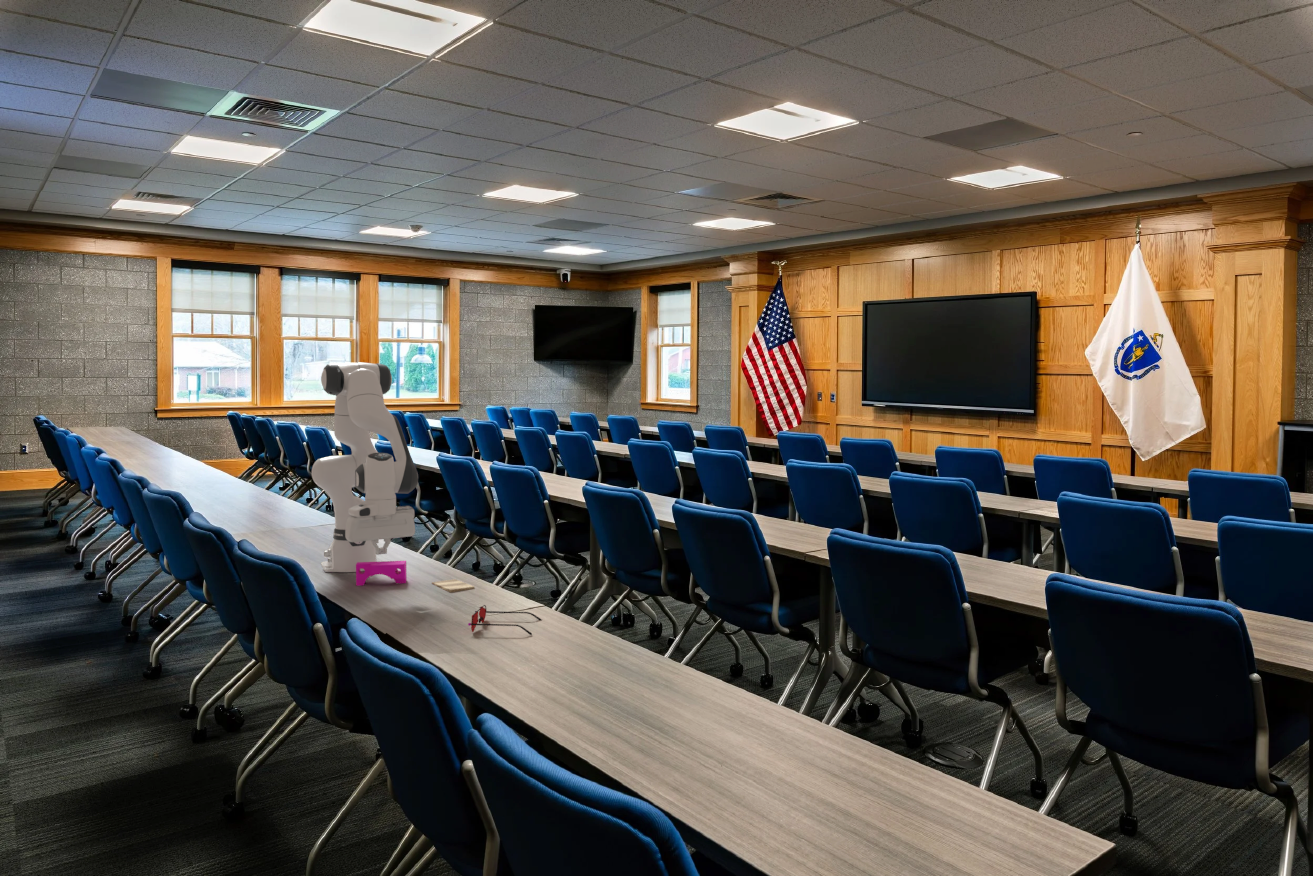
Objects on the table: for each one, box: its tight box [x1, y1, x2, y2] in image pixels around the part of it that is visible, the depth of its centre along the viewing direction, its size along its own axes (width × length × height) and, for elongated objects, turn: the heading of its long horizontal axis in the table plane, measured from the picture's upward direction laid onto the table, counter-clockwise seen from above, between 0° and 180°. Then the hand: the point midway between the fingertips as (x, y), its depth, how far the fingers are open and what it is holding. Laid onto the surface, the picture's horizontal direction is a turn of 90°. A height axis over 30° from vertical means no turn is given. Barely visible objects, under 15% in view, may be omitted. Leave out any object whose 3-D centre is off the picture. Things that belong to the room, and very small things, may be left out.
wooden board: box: [431, 578, 475, 593], centre depth 279 cm, size 14×8×1 cm, turn 37°
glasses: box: [467, 604, 543, 636], centre depth 233 cm, size 14×16×5 cm
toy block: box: [355, 560, 408, 587], centre depth 282 cm, size 15×6×8 cm, turn 101°
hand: (381, 554), depth 265 cm, fingers closed
